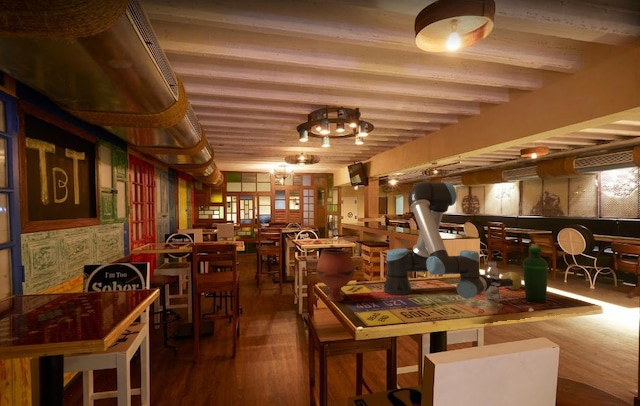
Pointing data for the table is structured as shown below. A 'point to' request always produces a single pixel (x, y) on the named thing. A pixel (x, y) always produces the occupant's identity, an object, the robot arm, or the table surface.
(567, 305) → the table surface
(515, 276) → the fruit
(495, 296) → the plastic bottle
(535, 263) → the bottle
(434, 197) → the robot arm
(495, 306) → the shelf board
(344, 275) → the goblet
